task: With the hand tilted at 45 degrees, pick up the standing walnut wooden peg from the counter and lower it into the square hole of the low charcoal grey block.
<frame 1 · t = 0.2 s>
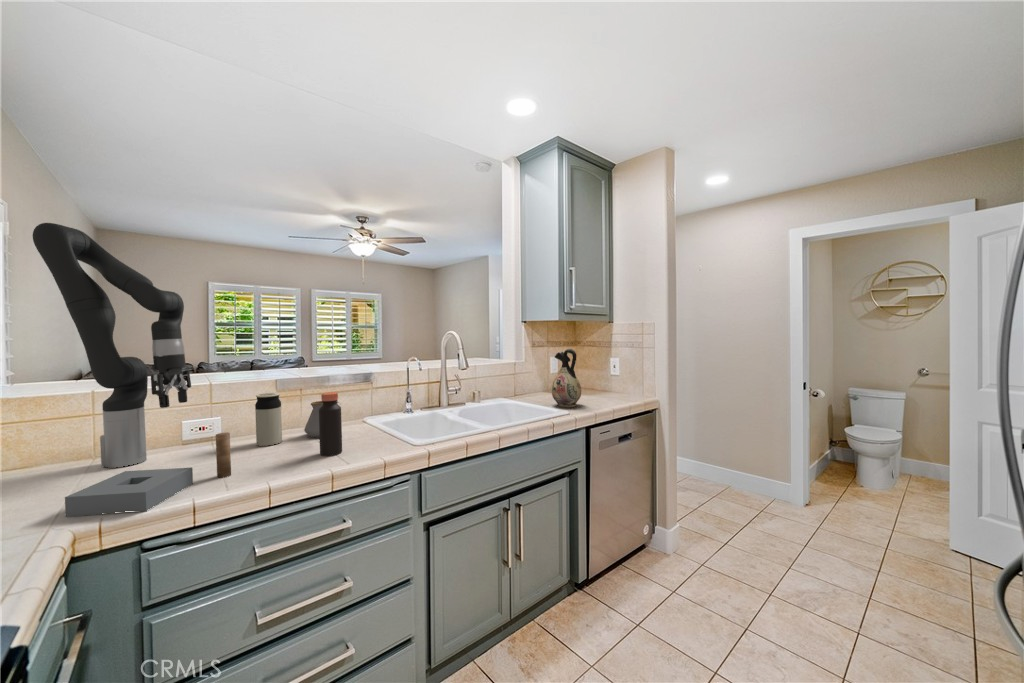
hand: (174, 404, 123), 18 cm above the worktop, tool pointing down, fingers open, 8 cm apart
travel mug: (269, 444, 142), on the worktop
hole block: (135, 498, 96), on the worktop
ceramic jug: (567, 406, 204), on the worktop
bottle: (331, 453, 130), on the worktop
coffee pot: (326, 437, 150), on the worktop
peg: (224, 475, 111), on the worktop
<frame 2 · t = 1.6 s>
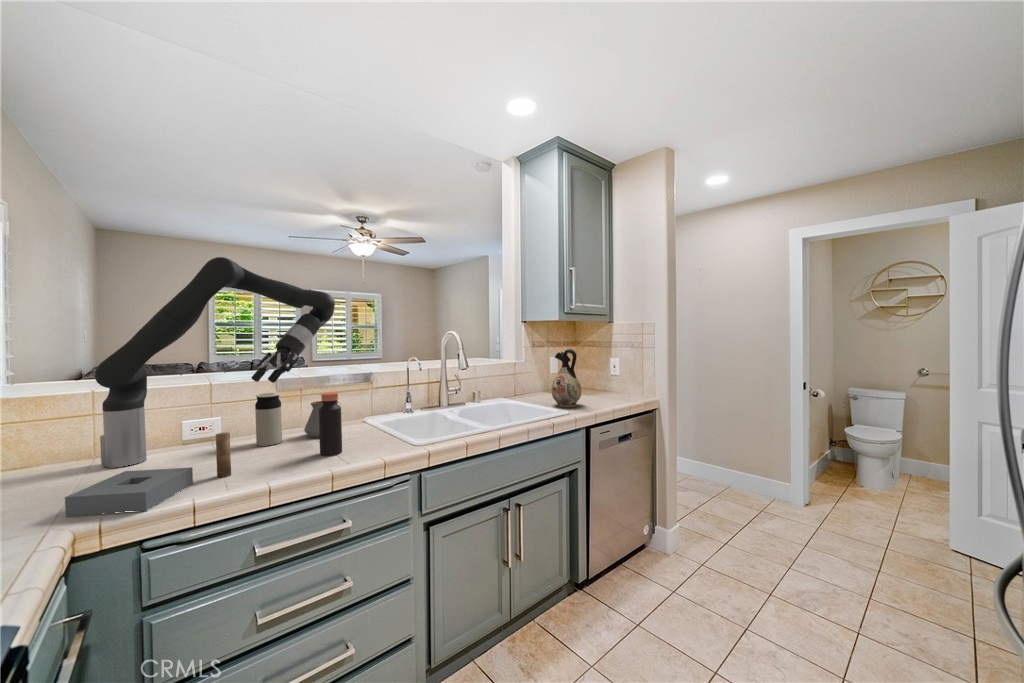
hand: (262, 380, 120), 26 cm above the worktop, tool tilted 45°, fingers open, 8 cm apart
nothing on the worktop moved.
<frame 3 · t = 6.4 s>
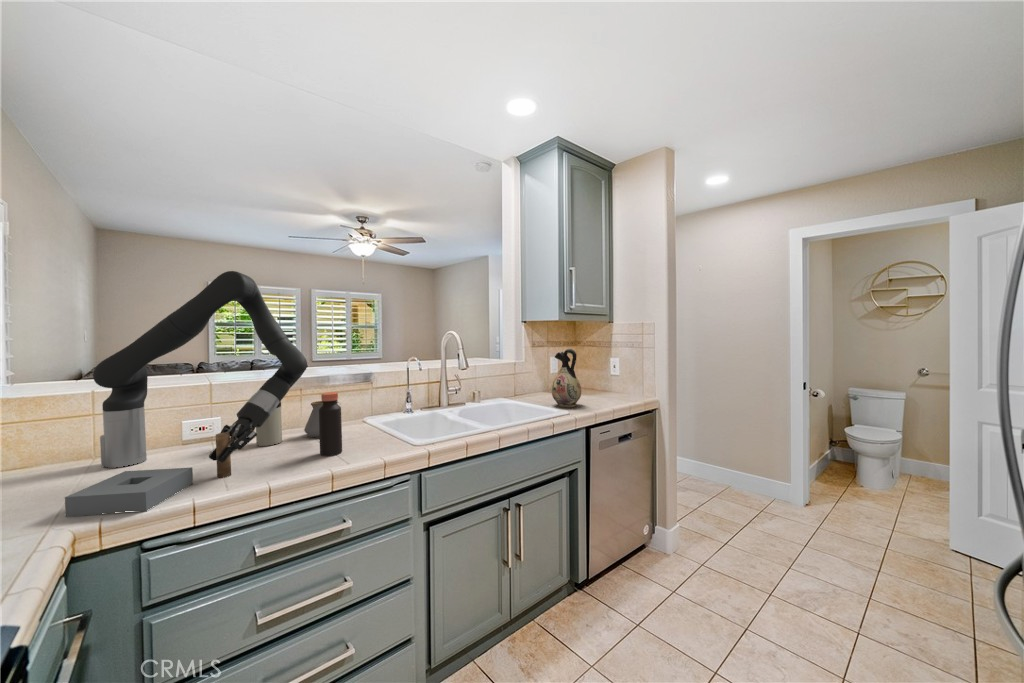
hand: (215, 459, 109), 5 cm above the worktop, tool tilted 45°, fingers closed on peg, 3 cm apart
peg: (224, 475, 111), on the worktop, touching gripper
everything else where it was.
when the fingers open (7 cm above the worktop, at t = 12.1 s): peg drops 1 cm, resting in hole block.
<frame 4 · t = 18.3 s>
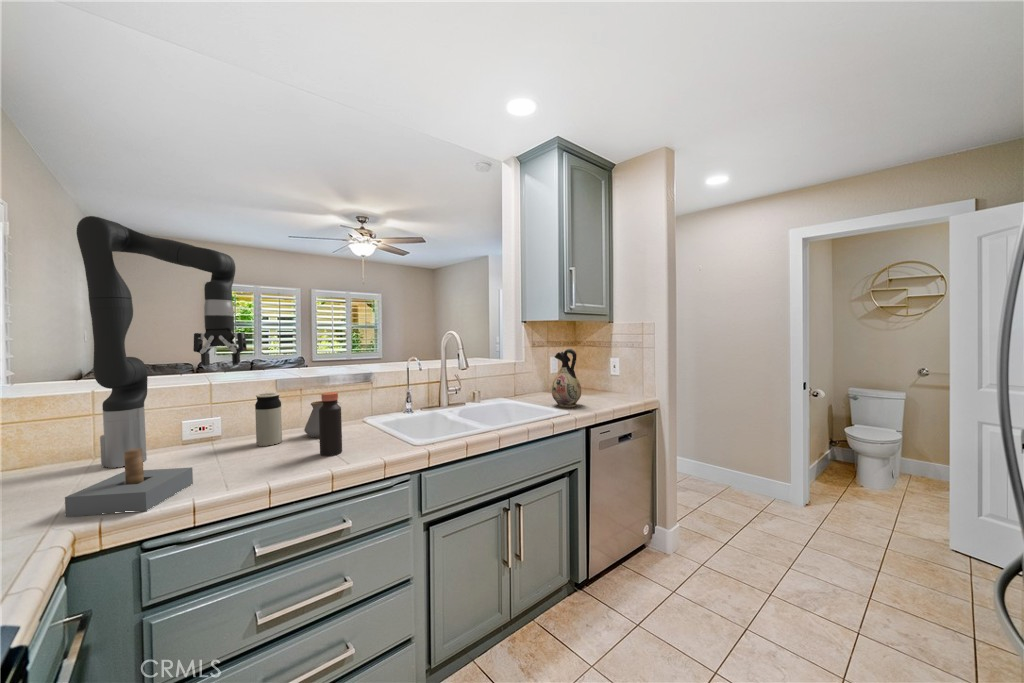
hand: (221, 365, 125), 30 cm above the worktop, tool pointing down, fingers open, 8 cm apart
peg: (135, 498, 96), resting in hole block
everything else where it was.
at the end: peg 0.0 cm off-centre on the hole block, point 0.0 cm above the hole block's base; peg tilted 0°; the gripper is holding nothing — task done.
